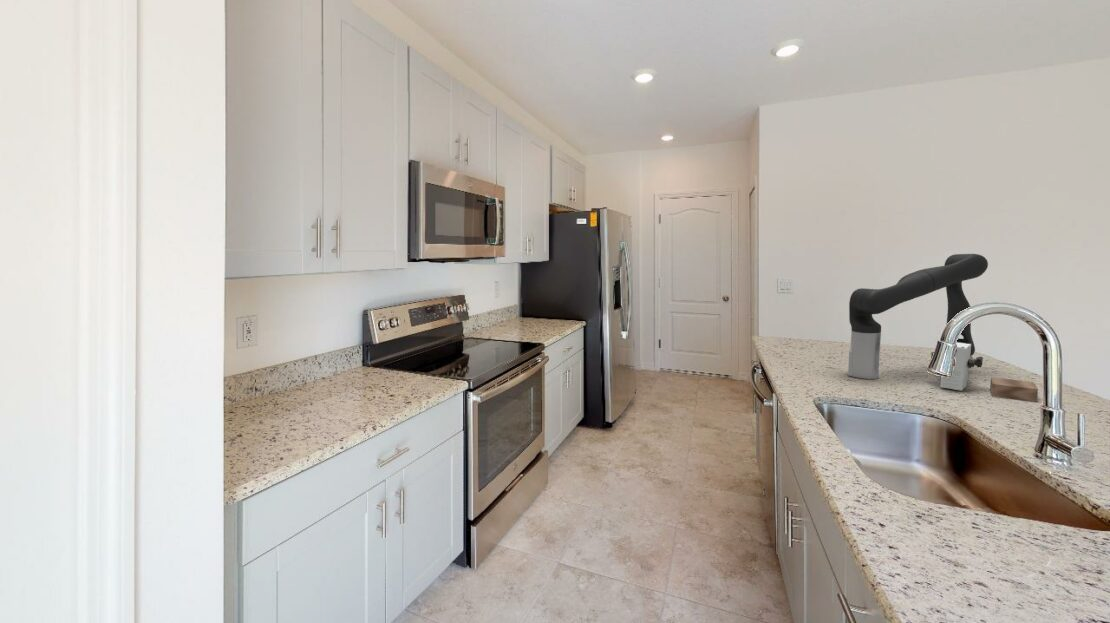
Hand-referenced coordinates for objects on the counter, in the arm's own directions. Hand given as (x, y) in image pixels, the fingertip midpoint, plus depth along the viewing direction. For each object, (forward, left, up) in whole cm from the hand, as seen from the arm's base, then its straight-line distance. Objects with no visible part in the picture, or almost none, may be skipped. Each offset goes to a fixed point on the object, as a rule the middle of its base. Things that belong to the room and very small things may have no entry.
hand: (956, 363), depth 152 cm
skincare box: (0, +2, -9) cm, 9 cm away
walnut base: (+14, +3, -9) cm, 17 cm away
